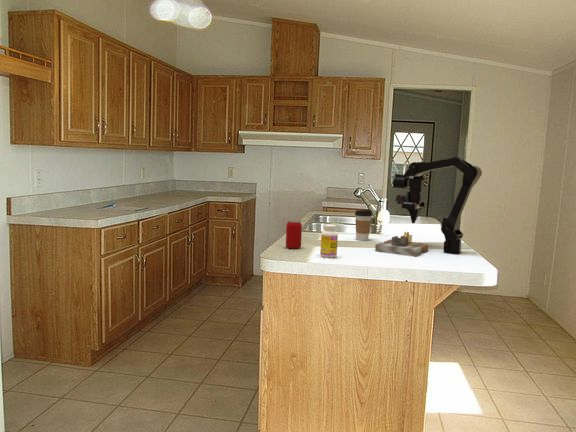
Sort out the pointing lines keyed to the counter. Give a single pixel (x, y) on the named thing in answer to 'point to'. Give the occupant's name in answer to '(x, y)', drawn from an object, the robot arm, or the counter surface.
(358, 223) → the coffee cup
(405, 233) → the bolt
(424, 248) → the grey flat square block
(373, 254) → the counter surface
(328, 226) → the supplement bottle
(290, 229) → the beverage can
